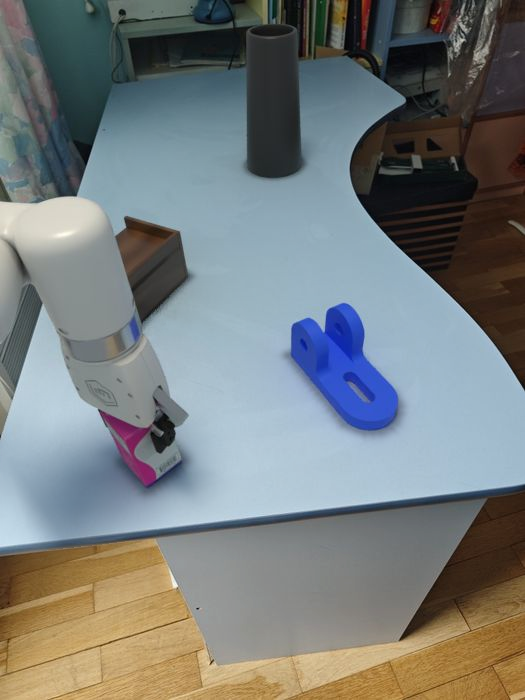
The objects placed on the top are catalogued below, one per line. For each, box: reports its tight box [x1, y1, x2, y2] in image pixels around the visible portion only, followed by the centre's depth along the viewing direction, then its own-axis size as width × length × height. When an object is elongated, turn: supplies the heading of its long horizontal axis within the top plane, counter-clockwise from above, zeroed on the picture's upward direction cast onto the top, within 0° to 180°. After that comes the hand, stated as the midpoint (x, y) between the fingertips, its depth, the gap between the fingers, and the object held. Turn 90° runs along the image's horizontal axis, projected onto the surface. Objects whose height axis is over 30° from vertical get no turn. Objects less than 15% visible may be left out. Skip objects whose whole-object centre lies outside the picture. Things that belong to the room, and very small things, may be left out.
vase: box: [245, 23, 303, 179], centre depth 111 cm, size 14×14×29 cm
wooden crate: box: [115, 215, 189, 325], centre depth 85 cm, size 12×16×10 cm
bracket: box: [290, 302, 399, 431], centre depth 69 cm, size 18×8×9 cm, turn 29°
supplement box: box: [99, 410, 183, 489], centre depth 60 cm, size 6×6×12 cm
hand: (140, 430), depth 59 cm, fingers closed on supplement box, 7 cm apart
